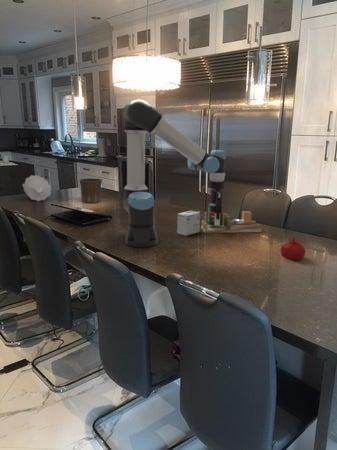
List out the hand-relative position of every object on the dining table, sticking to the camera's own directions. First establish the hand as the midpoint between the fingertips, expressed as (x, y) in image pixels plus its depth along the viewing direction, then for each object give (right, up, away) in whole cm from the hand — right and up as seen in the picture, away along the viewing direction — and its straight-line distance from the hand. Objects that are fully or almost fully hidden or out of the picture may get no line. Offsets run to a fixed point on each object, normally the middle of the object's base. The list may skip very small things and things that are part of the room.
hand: (215, 223), depth 198 cm
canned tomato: (0, -1, 0) cm, 1 cm away
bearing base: (+9, -4, +2) cm, 10 cm away
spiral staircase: (-123, +18, +80) cm, 148 cm away
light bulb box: (-15, -5, -4) cm, 16 cm away
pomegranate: (+28, -15, -41) cm, 52 cm away
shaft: (+14, -2, +2) cm, 15 cm away
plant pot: (-81, +16, +72) cm, 110 cm away
